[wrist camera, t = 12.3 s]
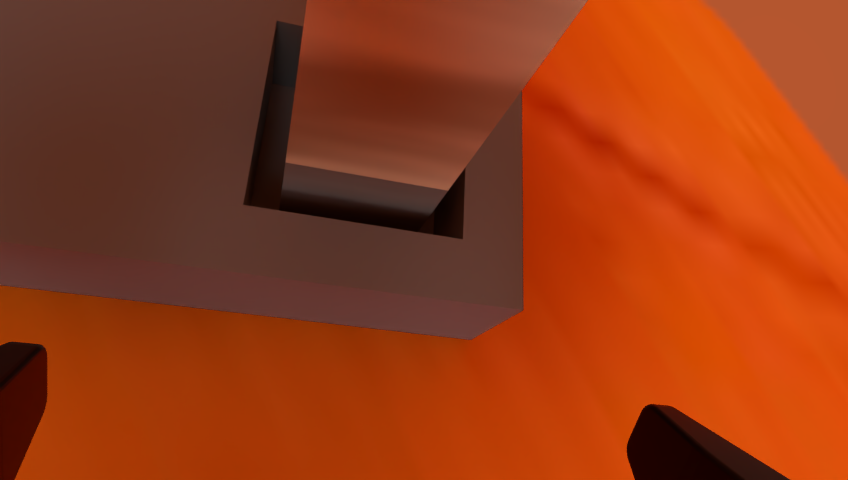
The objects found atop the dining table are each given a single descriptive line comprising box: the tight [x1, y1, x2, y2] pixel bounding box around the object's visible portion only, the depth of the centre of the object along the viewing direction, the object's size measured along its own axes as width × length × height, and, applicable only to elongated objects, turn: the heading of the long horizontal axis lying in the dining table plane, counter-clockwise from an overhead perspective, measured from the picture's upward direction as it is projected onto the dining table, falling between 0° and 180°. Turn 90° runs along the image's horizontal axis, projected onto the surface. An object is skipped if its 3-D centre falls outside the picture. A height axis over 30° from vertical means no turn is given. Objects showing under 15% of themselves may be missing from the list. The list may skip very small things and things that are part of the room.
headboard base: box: [0, 0, 523, 340], centre depth 14 cm, size 9×20×10 cm, turn 87°
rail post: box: [279, 0, 588, 232], centre depth 13 cm, size 4×4×13 cm
